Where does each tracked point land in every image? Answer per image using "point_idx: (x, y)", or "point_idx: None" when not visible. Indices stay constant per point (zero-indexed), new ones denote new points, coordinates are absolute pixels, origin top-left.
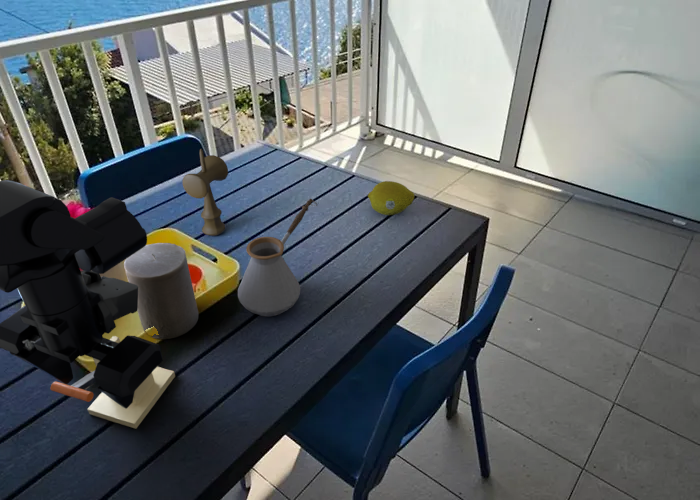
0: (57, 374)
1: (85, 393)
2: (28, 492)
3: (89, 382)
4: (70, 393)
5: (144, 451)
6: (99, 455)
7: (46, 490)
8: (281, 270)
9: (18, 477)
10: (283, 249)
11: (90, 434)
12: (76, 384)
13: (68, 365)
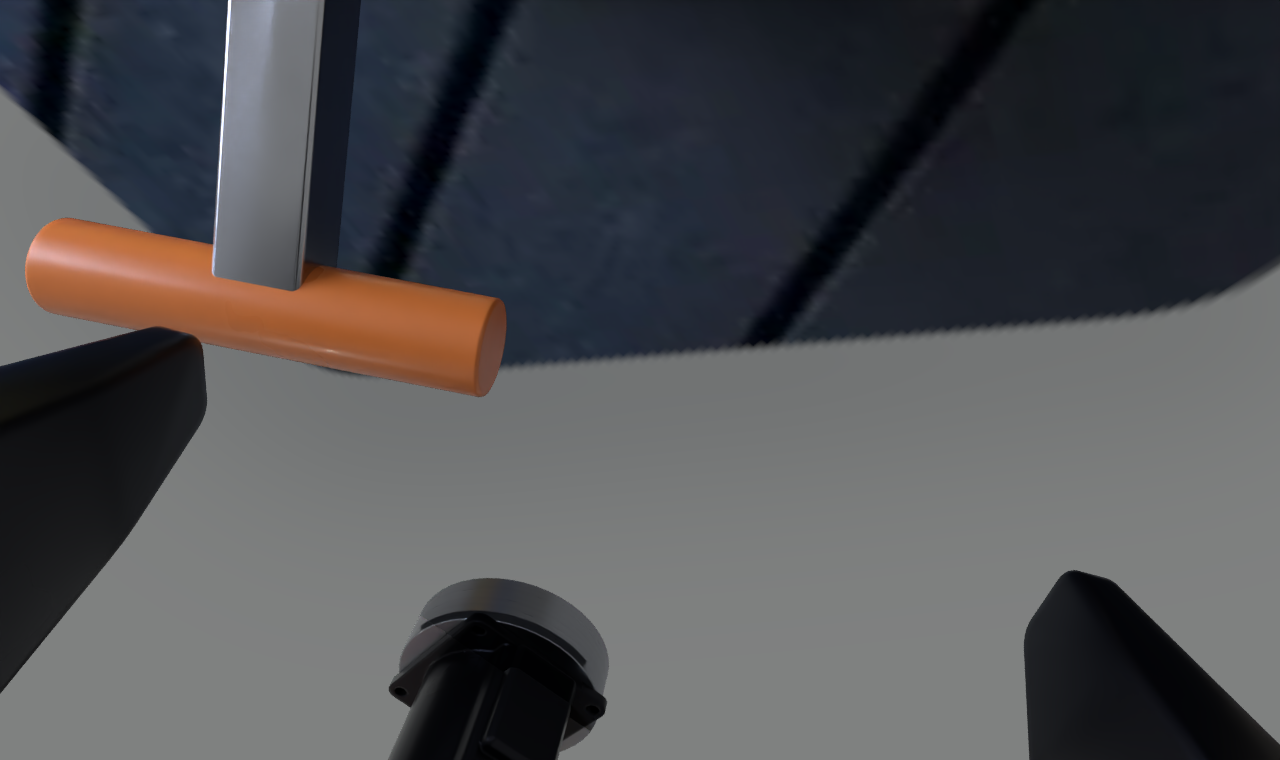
0: (46, 602)
1: (439, 374)
2: None
3: (328, 112)
4: (288, 358)
5: (845, 99)
6: (590, 161)
7: None
8: None
9: None
10: None
11: (453, 36)
12: (249, 238)
13: (21, 449)
